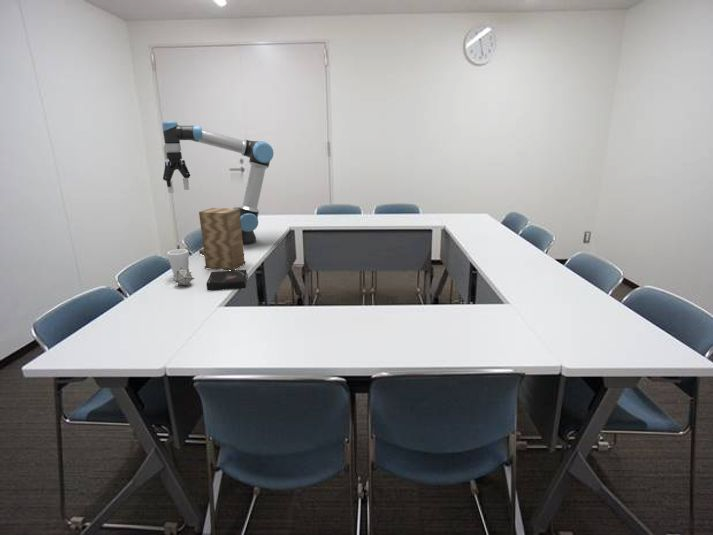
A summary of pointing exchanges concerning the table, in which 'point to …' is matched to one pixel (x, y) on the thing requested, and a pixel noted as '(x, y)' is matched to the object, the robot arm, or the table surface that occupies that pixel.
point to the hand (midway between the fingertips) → (179, 191)
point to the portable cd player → (227, 280)
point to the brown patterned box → (222, 238)
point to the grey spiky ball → (183, 277)
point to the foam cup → (178, 260)
